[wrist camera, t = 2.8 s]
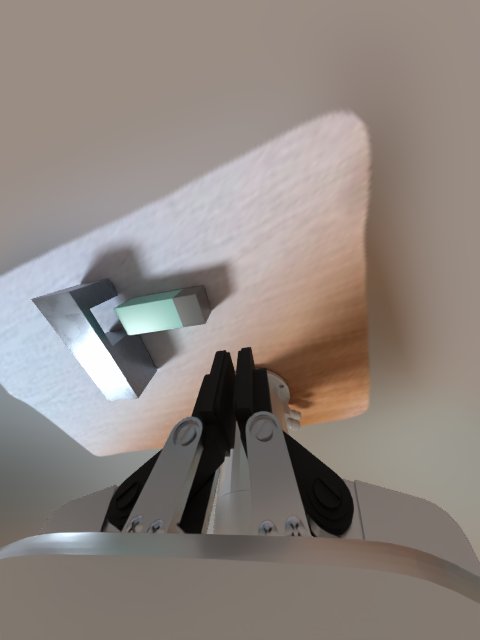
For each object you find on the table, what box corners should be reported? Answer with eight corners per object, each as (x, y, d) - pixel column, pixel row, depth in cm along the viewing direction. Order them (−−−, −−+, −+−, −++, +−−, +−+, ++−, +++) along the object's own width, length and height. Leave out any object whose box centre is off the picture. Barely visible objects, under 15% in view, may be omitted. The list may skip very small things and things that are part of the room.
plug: (203, 285, 24) (195, 294, 20) (211, 311, 26) (205, 323, 22) (131, 298, 26) (112, 309, 22) (143, 321, 27) (127, 335, 24)
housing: (108, 278, 24) (68, 291, 19) (157, 370, 32) (138, 398, 26) (78, 284, 25) (31, 299, 20) (132, 373, 32) (109, 401, 27)
